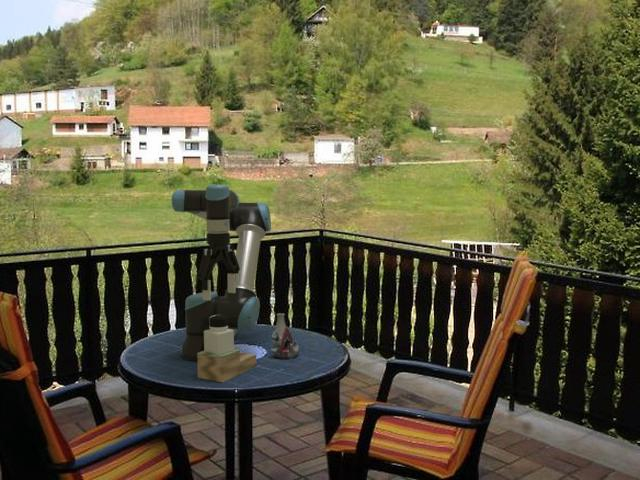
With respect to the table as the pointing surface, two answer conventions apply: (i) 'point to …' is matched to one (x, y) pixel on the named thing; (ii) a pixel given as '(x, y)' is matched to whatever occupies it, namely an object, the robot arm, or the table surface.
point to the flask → (280, 324)
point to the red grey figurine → (284, 345)
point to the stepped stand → (224, 365)
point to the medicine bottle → (218, 336)
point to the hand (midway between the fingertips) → (219, 296)
